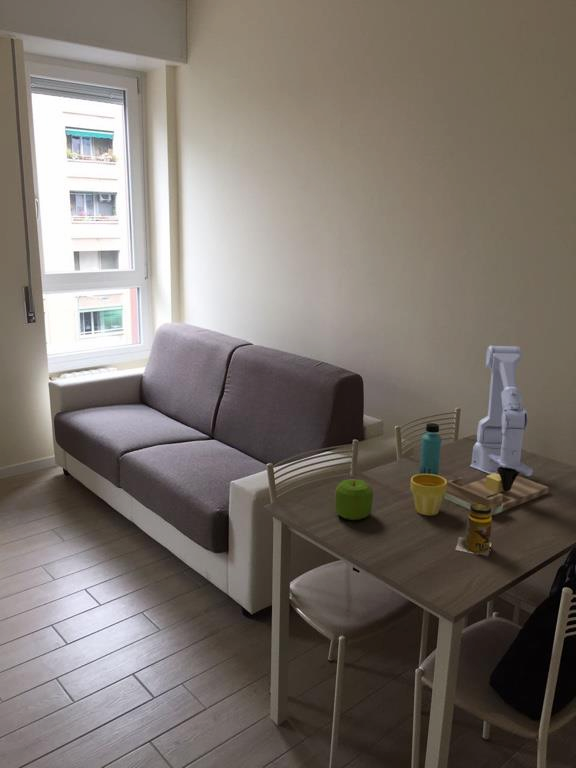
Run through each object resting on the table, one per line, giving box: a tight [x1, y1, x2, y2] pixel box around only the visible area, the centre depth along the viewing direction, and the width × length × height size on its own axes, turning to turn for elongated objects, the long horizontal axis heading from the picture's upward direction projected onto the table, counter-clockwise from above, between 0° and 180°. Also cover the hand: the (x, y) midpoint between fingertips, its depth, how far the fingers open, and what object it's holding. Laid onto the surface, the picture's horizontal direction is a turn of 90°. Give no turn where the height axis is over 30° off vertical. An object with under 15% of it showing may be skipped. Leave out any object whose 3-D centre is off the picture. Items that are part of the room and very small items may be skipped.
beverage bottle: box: [419, 422, 443, 476], centre depth 209 cm, size 6×7×20 cm
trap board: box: [443, 473, 549, 517], centre depth 202 cm, size 30×16×6 cm, turn 126°
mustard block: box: [485, 473, 504, 493], centre depth 202 cm, size 4×4×4 cm
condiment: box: [455, 503, 493, 555], centre depth 169 cm, size 7×8×12 cm
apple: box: [334, 478, 374, 521], centre depth 187 cm, size 11×11×11 cm
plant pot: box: [410, 473, 448, 516], centre depth 190 cm, size 10×10×10 cm
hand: (506, 489), depth 200 cm, fingers closed
